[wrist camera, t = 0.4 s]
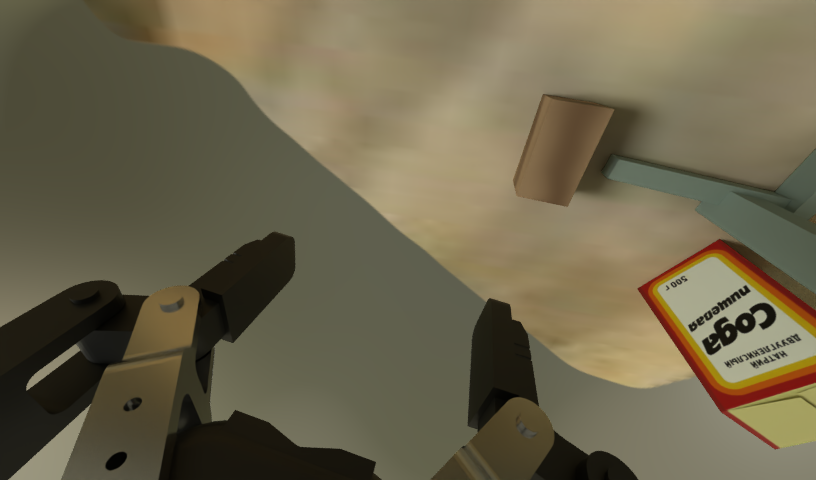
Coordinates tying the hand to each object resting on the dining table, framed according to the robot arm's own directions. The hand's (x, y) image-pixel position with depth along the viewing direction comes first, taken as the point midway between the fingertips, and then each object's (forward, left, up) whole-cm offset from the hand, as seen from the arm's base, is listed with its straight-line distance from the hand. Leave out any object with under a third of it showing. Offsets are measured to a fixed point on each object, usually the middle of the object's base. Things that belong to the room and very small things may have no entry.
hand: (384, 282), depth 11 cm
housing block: (-2, +10, -26) cm, 28 cm away
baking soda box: (+9, +32, -26) cm, 42 cm away
